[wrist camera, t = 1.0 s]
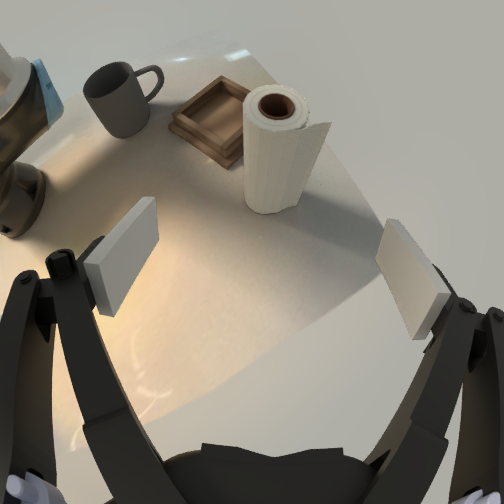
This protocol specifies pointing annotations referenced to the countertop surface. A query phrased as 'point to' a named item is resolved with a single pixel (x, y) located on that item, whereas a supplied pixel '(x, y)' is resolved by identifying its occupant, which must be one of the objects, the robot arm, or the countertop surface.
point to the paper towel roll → (278, 147)
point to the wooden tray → (214, 121)
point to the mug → (120, 97)
